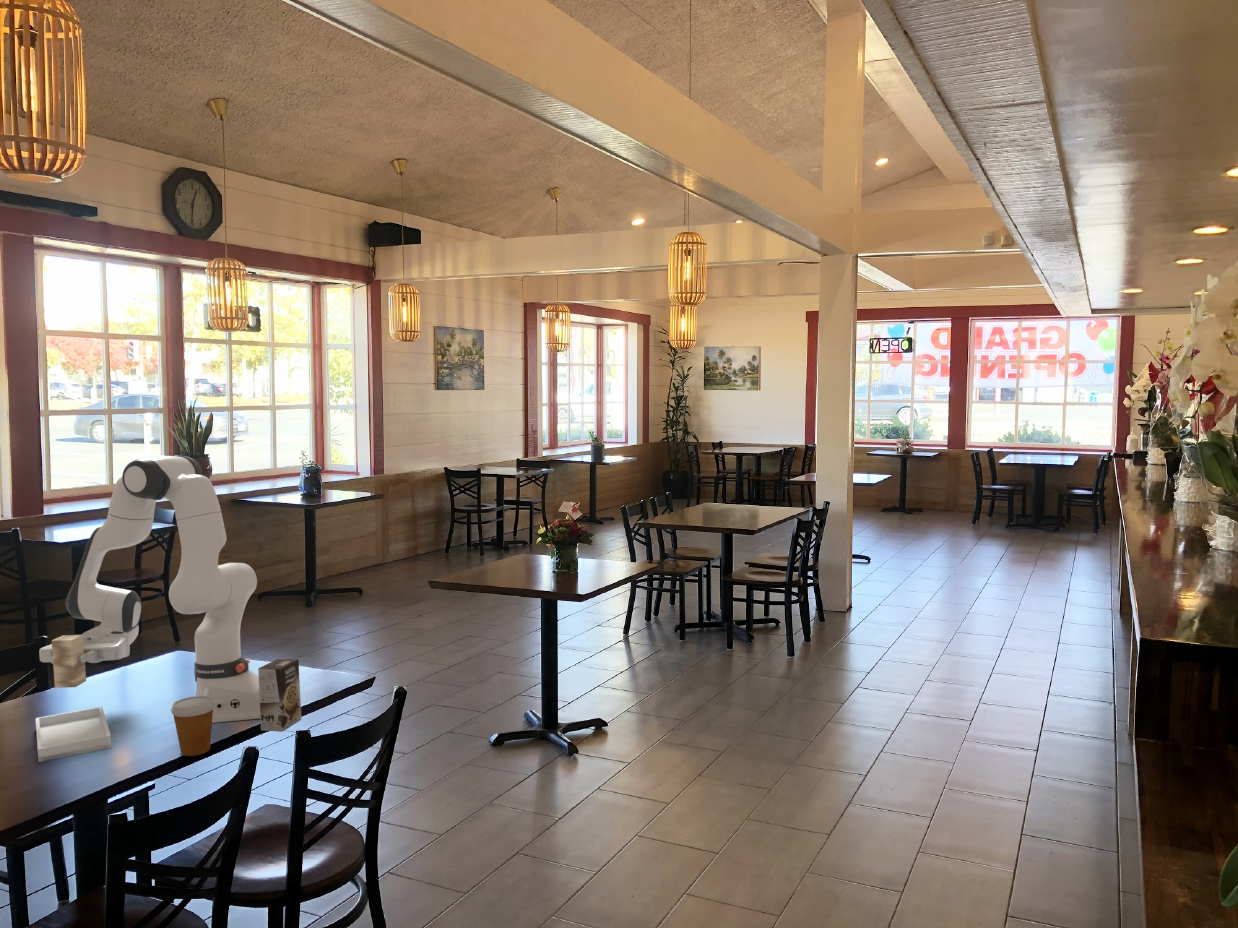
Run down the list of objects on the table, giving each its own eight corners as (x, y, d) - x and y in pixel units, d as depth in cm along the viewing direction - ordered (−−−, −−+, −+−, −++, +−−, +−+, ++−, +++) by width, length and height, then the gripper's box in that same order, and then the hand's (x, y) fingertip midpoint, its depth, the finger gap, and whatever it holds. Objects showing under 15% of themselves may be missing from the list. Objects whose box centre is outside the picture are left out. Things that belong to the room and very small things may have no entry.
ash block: (86, 680, 240) (82, 634, 239) (75, 687, 235) (71, 639, 234) (66, 681, 240) (63, 635, 239) (55, 687, 235) (51, 640, 234)
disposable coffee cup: (206, 758, 219) (203, 708, 218) (166, 759, 219) (162, 708, 218) (224, 742, 229) (221, 694, 228) (185, 743, 229) (182, 695, 228)
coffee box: (283, 732, 235) (280, 668, 234) (260, 730, 236) (256, 667, 235) (302, 719, 244) (299, 658, 243) (280, 718, 245) (277, 657, 244)
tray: (111, 747, 227) (110, 735, 227) (38, 761, 219) (37, 749, 219) (102, 717, 249) (102, 706, 249) (36, 729, 241) (35, 717, 241)
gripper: (56, 634, 249) (24, 648, 236) (133, 632, 250) (106, 646, 236) (57, 657, 250) (26, 673, 236) (135, 655, 250) (108, 670, 236)
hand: (66, 659), depth 236 cm, fingers closed on ash block, 5 cm apart
